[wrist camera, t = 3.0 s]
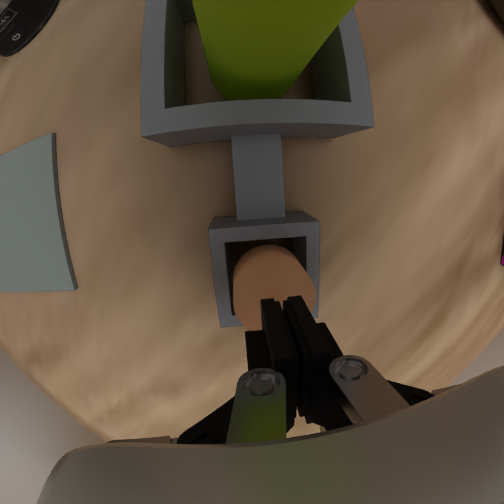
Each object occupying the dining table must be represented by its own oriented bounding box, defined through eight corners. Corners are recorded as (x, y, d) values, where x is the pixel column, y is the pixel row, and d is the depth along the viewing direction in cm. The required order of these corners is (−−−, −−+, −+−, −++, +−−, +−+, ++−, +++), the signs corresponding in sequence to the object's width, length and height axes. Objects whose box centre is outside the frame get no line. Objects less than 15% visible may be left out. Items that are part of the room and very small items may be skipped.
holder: (168, 14, 14) (150, -28, 8) (316, 10, 14) (341, -30, 8) (188, 301, 20) (174, 347, 14) (335, 288, 21) (366, 327, 15)
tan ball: (230, 247, 15) (229, 265, 12) (301, 241, 15) (316, 258, 12) (236, 311, 16) (237, 339, 13) (301, 304, 16) (314, 331, 14)
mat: (-24, 171, 15) (-28, 171, 14) (55, 133, 16) (51, 132, 15) (-4, 289, 19) (-7, 291, 18) (77, 287, 19) (74, 290, 19)
